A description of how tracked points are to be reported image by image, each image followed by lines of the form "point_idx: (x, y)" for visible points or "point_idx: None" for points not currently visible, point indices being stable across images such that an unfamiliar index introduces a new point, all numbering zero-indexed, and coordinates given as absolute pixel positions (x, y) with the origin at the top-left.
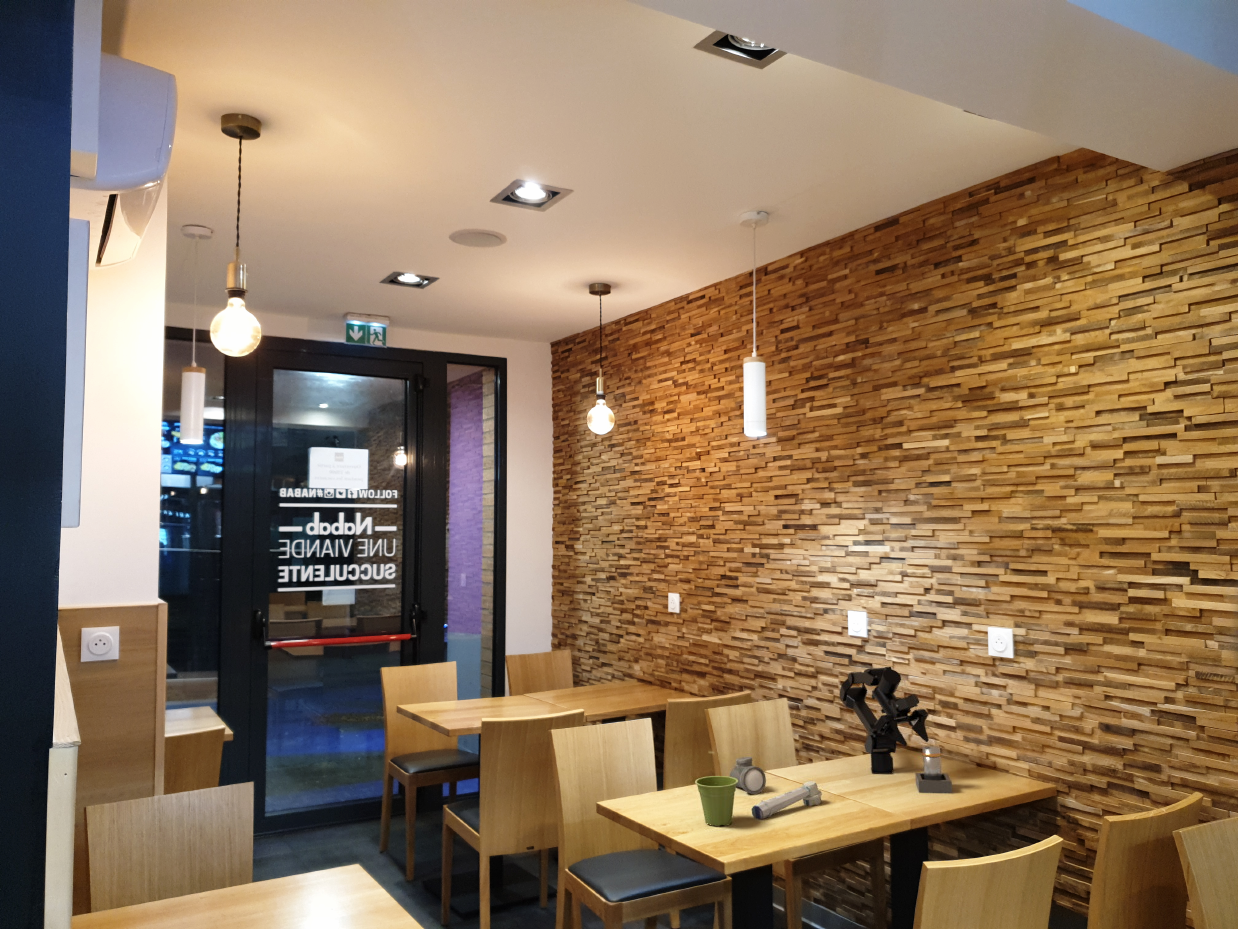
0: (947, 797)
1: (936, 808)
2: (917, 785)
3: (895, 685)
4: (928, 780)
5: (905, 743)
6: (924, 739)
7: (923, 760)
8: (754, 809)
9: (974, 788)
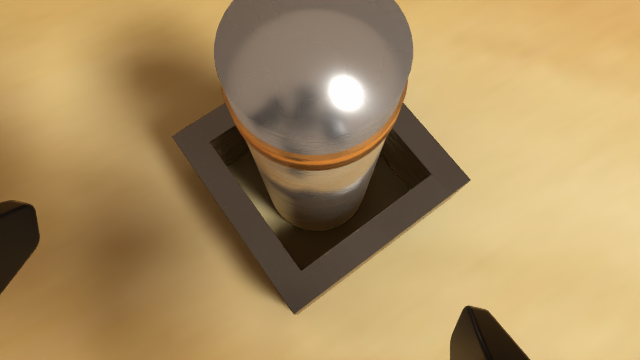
0: (415, 55)
1: (611, 8)
2: (387, 245)
3: None
4: (418, 135)
5: (494, 324)
6: (3, 271)
7: (367, 162)
8: None
9: (174, 37)
